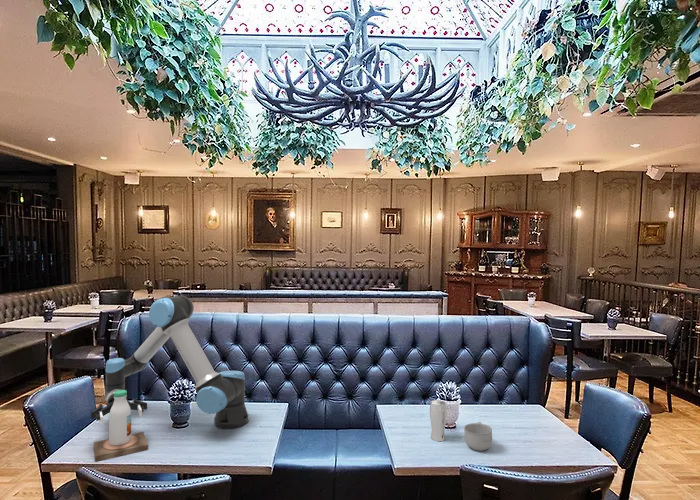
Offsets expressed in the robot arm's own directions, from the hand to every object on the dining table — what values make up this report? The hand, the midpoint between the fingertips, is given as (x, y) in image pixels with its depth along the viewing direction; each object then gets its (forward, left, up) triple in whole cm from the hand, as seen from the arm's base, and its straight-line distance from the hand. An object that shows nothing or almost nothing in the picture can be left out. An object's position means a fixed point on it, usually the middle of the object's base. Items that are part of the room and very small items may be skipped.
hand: (121, 417), depth 166 cm
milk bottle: (0, -3, -11) cm, 12 cm away
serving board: (0, -3, -13) cm, 14 cm away
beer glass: (-113, +58, -14) cm, 128 cm away
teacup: (-122, +72, -14) cm, 142 cm away
